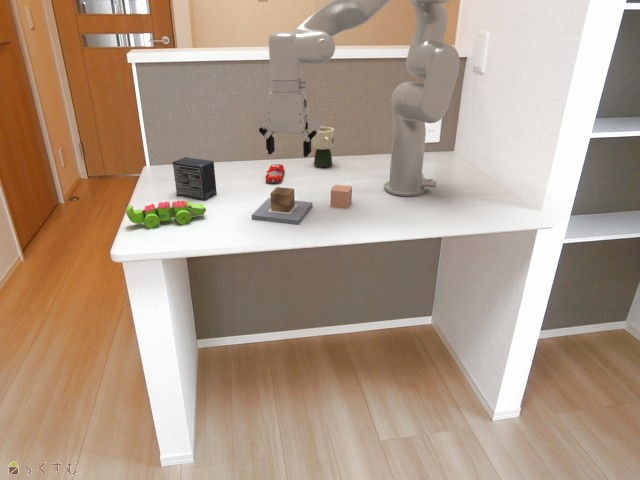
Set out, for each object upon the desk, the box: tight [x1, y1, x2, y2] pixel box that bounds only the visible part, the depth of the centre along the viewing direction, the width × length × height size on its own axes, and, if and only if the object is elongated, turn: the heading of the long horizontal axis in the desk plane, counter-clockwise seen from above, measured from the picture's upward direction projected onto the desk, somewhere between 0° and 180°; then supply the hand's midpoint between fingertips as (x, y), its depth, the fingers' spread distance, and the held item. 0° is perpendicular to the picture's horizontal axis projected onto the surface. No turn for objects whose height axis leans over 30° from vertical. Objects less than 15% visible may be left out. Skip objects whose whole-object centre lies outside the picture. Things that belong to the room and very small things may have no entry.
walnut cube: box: [269, 186, 296, 213], centre depth 134 cm, size 5×5×5 cm
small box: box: [172, 156, 218, 202], centre depth 146 cm, size 11×6×10 cm, turn 65°
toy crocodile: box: [125, 200, 207, 229], centre depth 129 cm, size 20×7×6 cm, turn 108°
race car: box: [265, 163, 286, 185], centre depth 161 cm, size 13×5×4 cm, turn 176°
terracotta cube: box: [330, 184, 353, 210], centre depth 140 cm, size 5×5×5 cm
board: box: [251, 197, 313, 225], centre depth 136 cm, size 13×13×1 cm
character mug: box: [312, 126, 335, 168], centre depth 170 cm, size 11×7×13 cm, turn 14°
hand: (288, 154), depth 129 cm, fingers open, 9 cm apart
